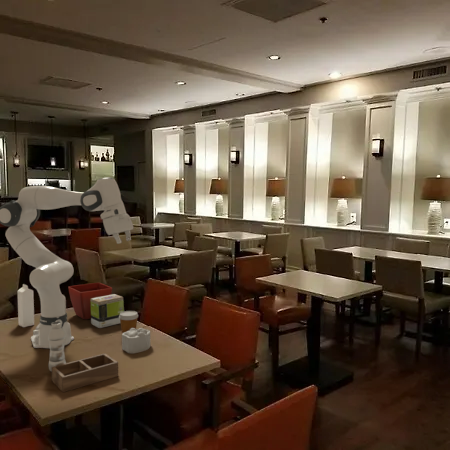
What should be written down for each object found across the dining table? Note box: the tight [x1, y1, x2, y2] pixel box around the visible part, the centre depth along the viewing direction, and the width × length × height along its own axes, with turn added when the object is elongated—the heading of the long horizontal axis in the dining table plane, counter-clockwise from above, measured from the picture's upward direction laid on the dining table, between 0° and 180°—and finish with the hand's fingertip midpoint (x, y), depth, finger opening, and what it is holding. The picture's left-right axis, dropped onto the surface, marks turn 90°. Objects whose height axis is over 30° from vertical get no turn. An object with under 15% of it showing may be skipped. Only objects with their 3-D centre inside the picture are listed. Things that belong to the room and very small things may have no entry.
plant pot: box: [68, 282, 113, 320], centre depth 254 cm, size 19×19×17 cm
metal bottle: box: [48, 322, 67, 373], centre depth 178 cm, size 6×7×20 cm
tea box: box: [90, 293, 125, 329], centre depth 239 cm, size 15×10×15 cm, turn 133°
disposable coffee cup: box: [119, 310, 139, 335], centre depth 219 cm, size 10×10×12 cm
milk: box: [17, 283, 35, 328], centre depth 235 cm, size 6×6×22 cm
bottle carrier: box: [51, 353, 119, 393], centre depth 172 cm, size 12×22×6 cm, turn 131°
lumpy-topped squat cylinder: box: [121, 327, 151, 354], centre depth 204 cm, size 10×13×9 cm
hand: (124, 241), depth 196 cm, fingers open, 8 cm apart
